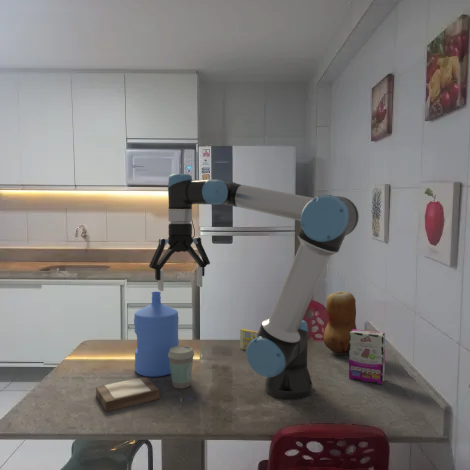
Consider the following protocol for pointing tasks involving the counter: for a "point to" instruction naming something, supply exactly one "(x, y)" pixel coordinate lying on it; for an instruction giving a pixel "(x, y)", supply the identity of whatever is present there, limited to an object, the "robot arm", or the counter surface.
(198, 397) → the counter surface
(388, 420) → the counter surface
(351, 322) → the butternut squash
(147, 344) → the water jug
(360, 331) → the candy bar box
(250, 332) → the candy box
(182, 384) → the coffee cup
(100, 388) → the walnut plinth
